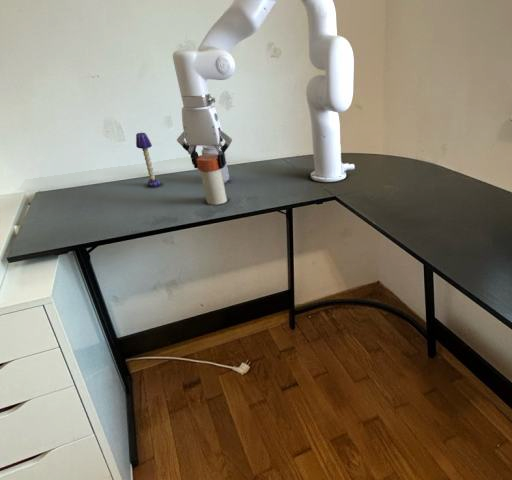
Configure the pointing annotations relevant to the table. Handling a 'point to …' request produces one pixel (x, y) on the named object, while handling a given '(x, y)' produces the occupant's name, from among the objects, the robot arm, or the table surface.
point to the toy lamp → (147, 157)
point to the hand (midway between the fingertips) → (209, 166)
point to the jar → (214, 187)
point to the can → (213, 151)
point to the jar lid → (207, 162)
